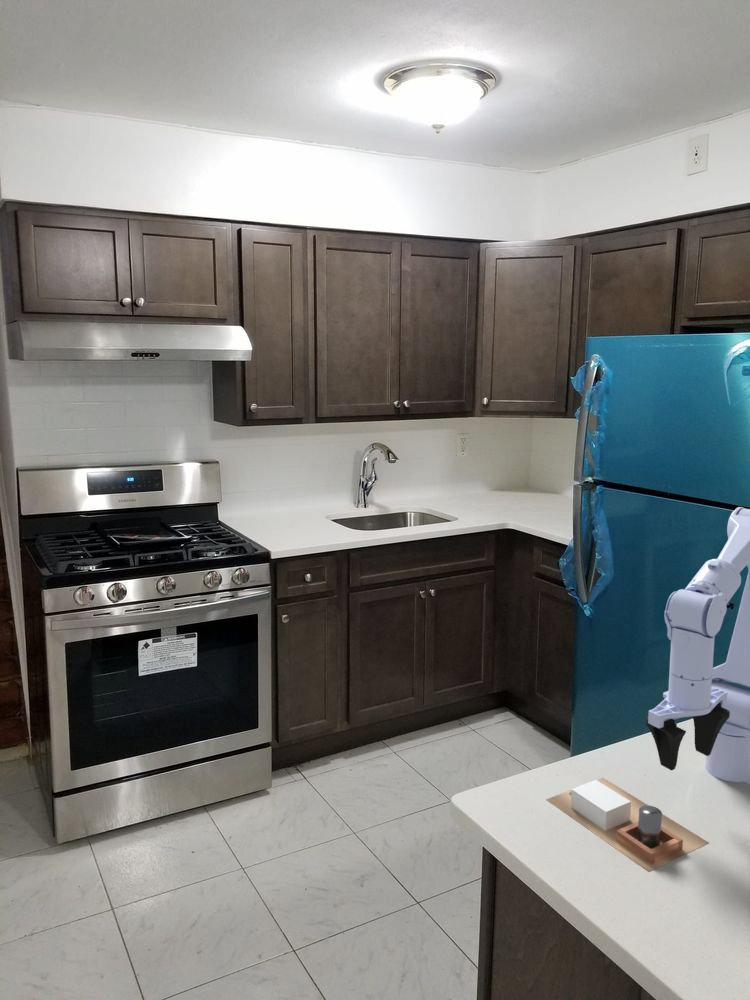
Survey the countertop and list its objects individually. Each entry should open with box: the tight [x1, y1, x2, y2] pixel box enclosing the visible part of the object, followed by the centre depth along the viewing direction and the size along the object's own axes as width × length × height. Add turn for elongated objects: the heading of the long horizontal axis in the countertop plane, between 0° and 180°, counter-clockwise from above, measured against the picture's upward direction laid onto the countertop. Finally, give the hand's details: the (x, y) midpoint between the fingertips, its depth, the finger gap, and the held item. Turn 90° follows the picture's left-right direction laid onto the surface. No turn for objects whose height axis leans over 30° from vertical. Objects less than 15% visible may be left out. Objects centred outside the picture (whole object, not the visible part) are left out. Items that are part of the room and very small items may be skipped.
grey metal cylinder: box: [637, 805, 663, 849], centre depth 110 cm, size 3×3×5 cm
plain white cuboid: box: [570, 779, 631, 831], centre depth 118 cm, size 5×7×3 cm
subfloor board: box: [546, 777, 710, 873], centre depth 117 cm, size 12×20×2 cm, turn 30°
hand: (685, 759), depth 117 cm, fingers open, 7 cm apart
